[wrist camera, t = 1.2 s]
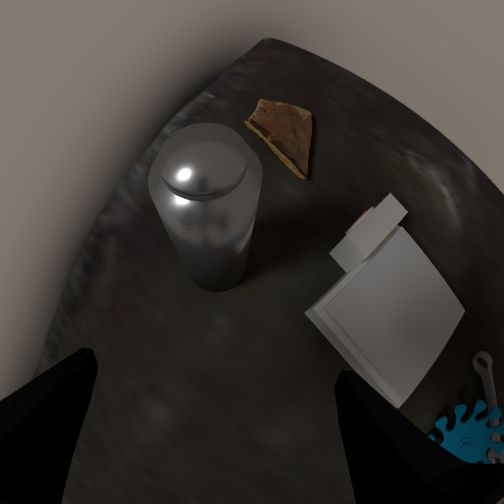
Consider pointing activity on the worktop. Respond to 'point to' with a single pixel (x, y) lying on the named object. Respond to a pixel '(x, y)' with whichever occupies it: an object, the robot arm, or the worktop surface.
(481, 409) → the gear
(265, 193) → the worktop surface
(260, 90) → the worktop surface
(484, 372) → the combination wrench
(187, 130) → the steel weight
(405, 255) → the kitchen scale
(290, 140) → the shard
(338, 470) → the worktop surface
